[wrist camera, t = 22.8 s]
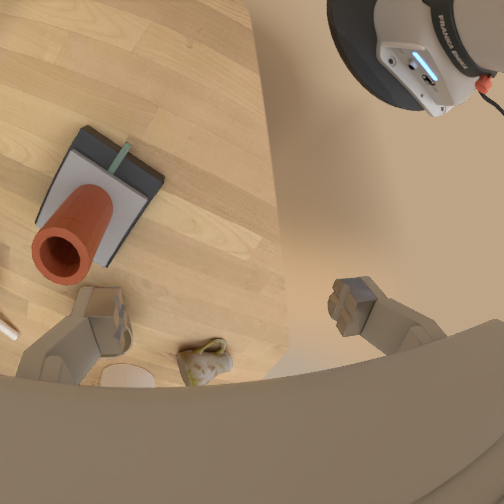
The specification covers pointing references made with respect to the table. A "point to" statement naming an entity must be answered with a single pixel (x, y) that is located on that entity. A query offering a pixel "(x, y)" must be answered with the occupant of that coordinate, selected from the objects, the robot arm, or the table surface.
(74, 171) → the scale
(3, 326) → the stomach
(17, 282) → the table surface
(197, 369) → the mug
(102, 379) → the bottle
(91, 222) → the jar
